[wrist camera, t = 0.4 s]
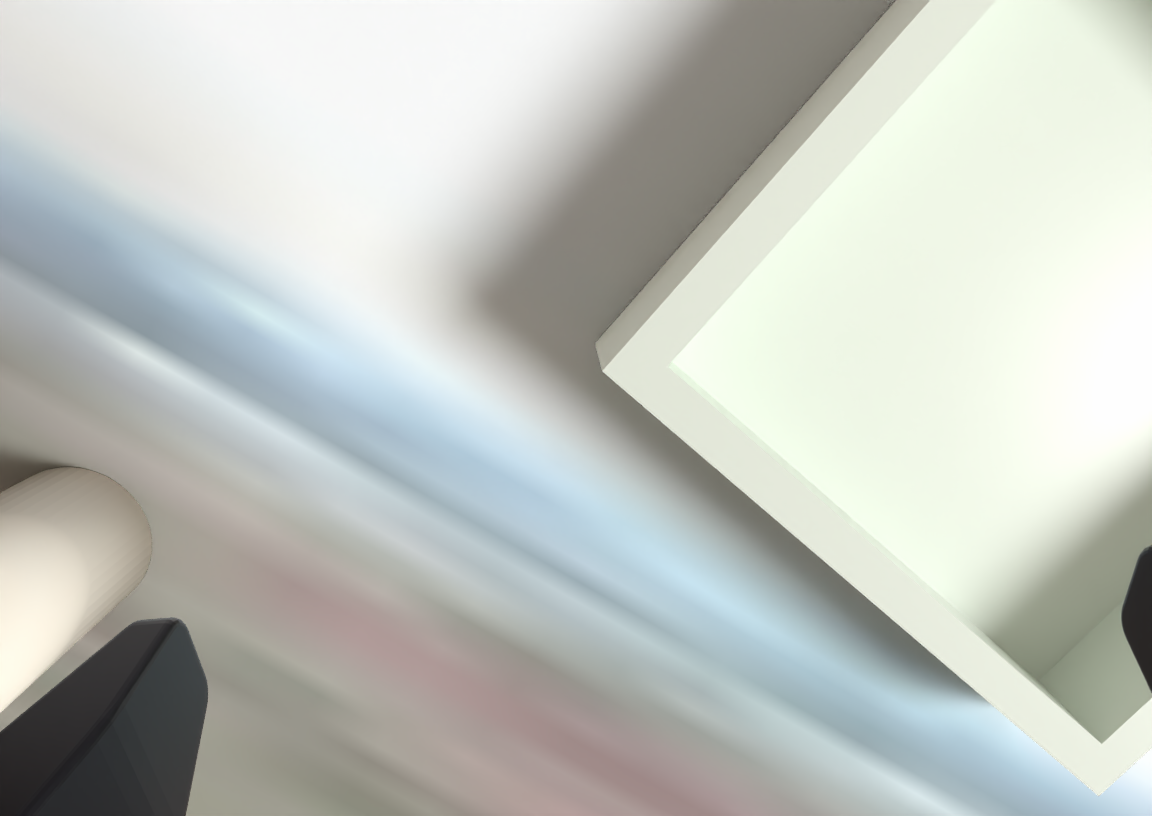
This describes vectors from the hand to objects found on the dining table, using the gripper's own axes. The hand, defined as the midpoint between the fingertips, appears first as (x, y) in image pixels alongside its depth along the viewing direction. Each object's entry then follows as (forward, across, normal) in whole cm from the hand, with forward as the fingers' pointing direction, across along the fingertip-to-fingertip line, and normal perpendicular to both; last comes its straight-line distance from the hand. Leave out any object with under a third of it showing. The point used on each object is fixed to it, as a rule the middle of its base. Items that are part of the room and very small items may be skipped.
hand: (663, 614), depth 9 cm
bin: (+15, -11, +5) cm, 19 cm away
